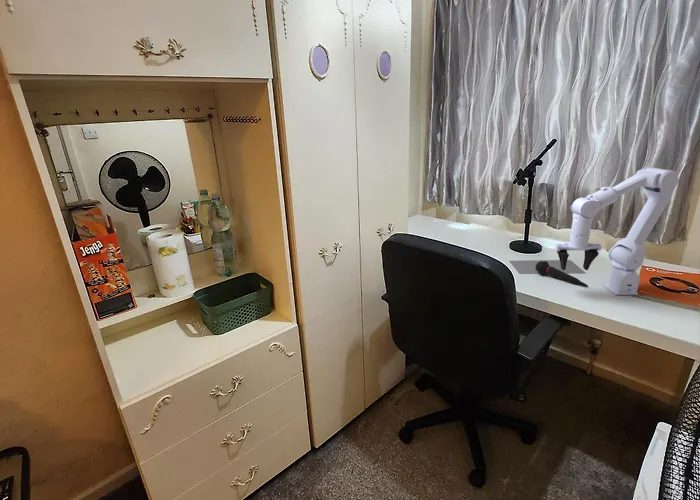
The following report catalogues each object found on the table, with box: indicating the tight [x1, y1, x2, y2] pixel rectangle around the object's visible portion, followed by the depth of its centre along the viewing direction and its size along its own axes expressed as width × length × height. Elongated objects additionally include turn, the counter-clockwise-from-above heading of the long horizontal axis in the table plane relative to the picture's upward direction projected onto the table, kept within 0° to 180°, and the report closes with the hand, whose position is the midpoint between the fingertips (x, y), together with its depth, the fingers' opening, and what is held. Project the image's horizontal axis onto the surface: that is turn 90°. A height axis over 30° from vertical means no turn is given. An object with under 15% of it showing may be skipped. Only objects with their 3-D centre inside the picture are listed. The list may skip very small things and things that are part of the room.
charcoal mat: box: [509, 259, 586, 275], centre depth 163 cm, size 14×26×1 cm, turn 85°
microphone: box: [535, 261, 589, 288], centre depth 150 cm, size 6×6×20 cm
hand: (574, 269), depth 137 cm, fingers open, 7 cm apart
